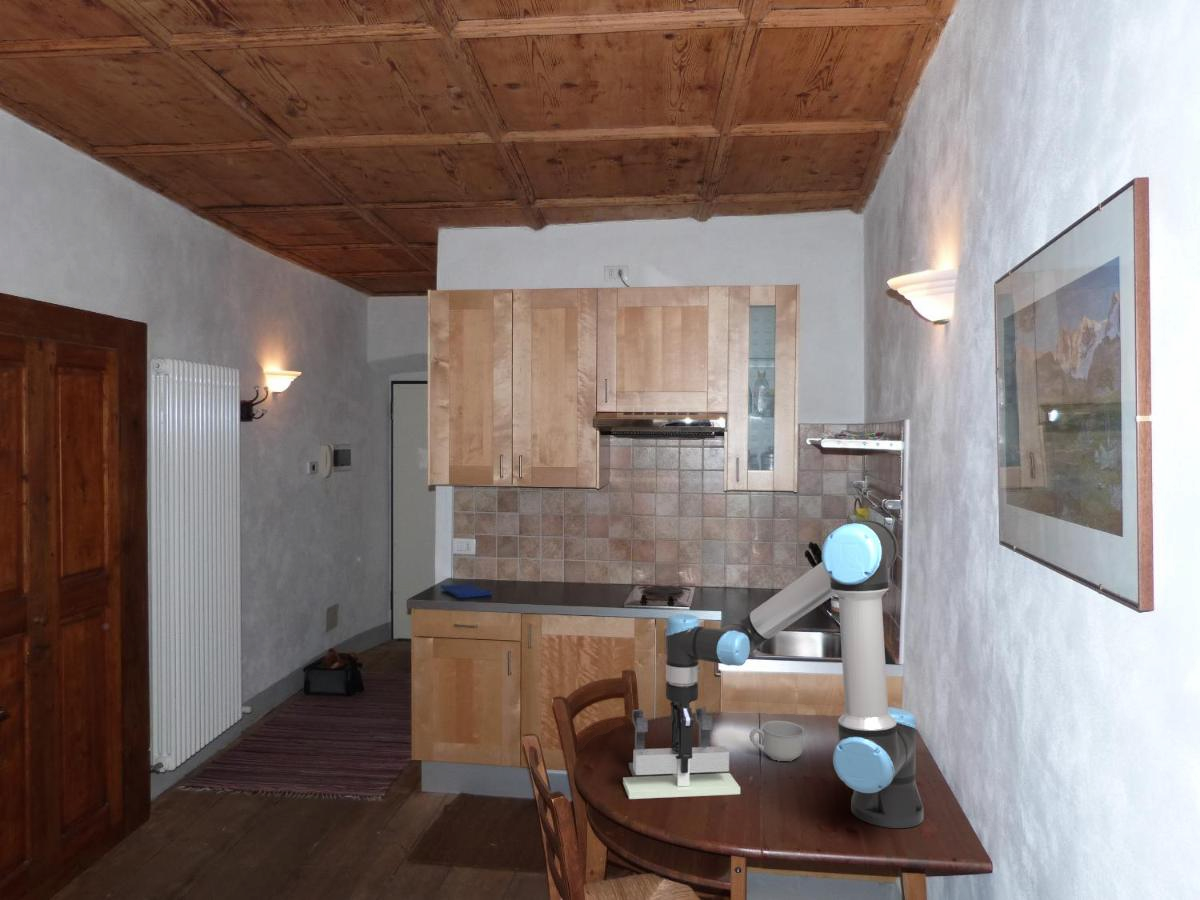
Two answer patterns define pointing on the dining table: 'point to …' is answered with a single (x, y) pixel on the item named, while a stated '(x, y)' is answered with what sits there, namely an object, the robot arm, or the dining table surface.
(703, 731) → the hook stand
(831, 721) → the dining table surface
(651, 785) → the board
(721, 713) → the dining table surface
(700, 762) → the rail bar
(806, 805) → the dining table surface
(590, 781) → the dining table surface
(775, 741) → the teacup
